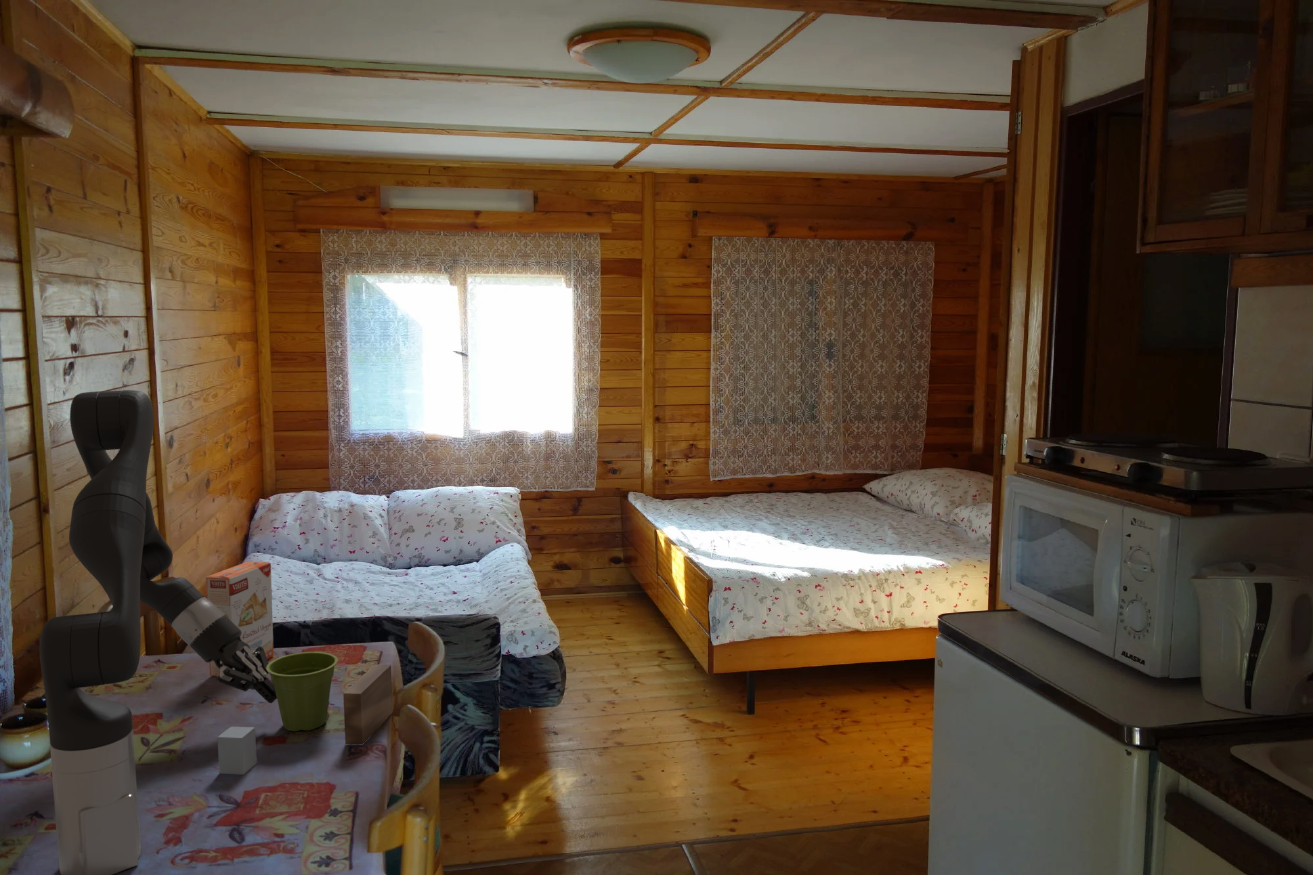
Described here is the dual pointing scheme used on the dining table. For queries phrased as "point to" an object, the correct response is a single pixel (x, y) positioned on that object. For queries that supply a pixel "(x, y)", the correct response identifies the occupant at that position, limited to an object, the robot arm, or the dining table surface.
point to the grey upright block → (237, 750)
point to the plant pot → (303, 688)
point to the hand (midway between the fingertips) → (276, 698)
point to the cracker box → (245, 603)
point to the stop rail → (367, 704)
